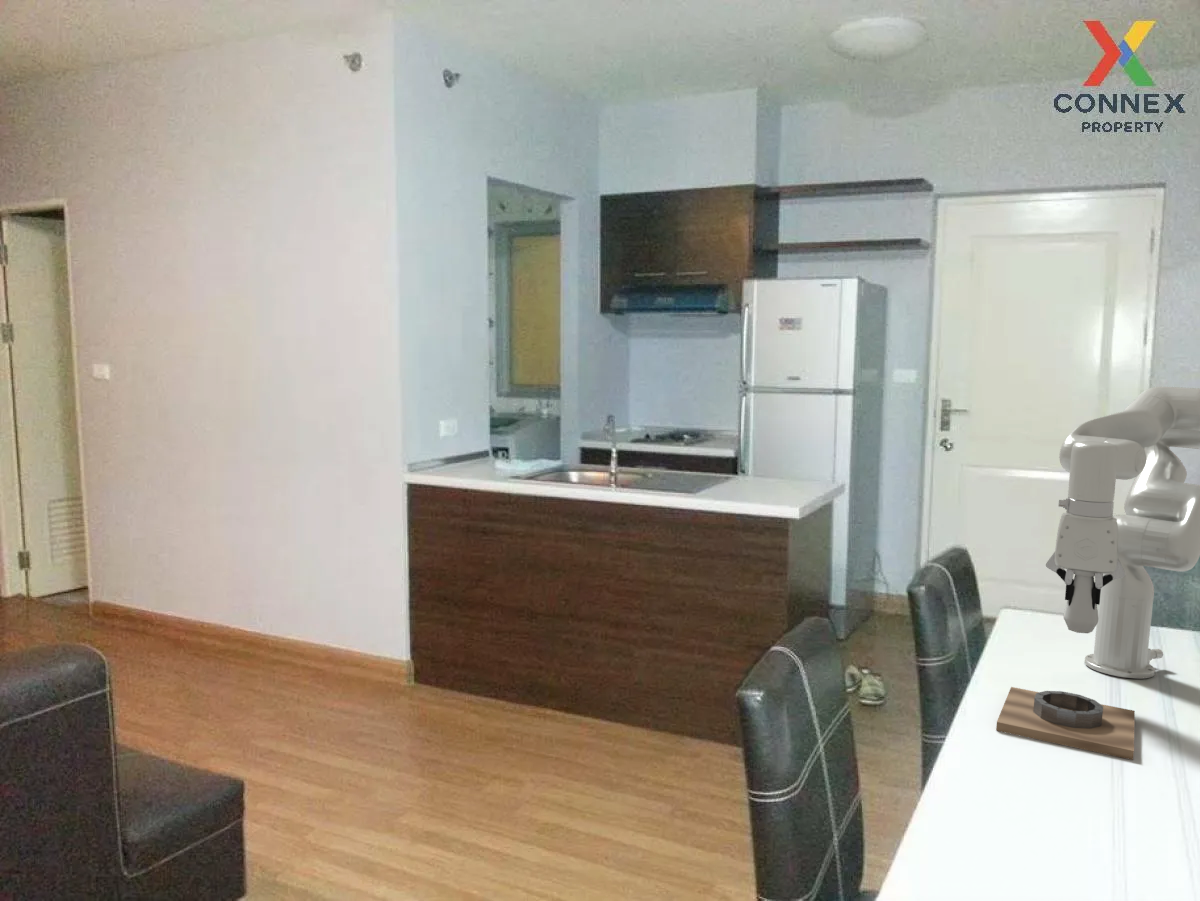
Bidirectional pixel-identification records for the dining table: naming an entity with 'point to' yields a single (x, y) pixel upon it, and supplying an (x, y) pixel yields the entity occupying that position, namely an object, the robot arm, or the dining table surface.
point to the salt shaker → (1081, 604)
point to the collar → (1083, 717)
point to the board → (1104, 739)
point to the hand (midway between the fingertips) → (1081, 605)
